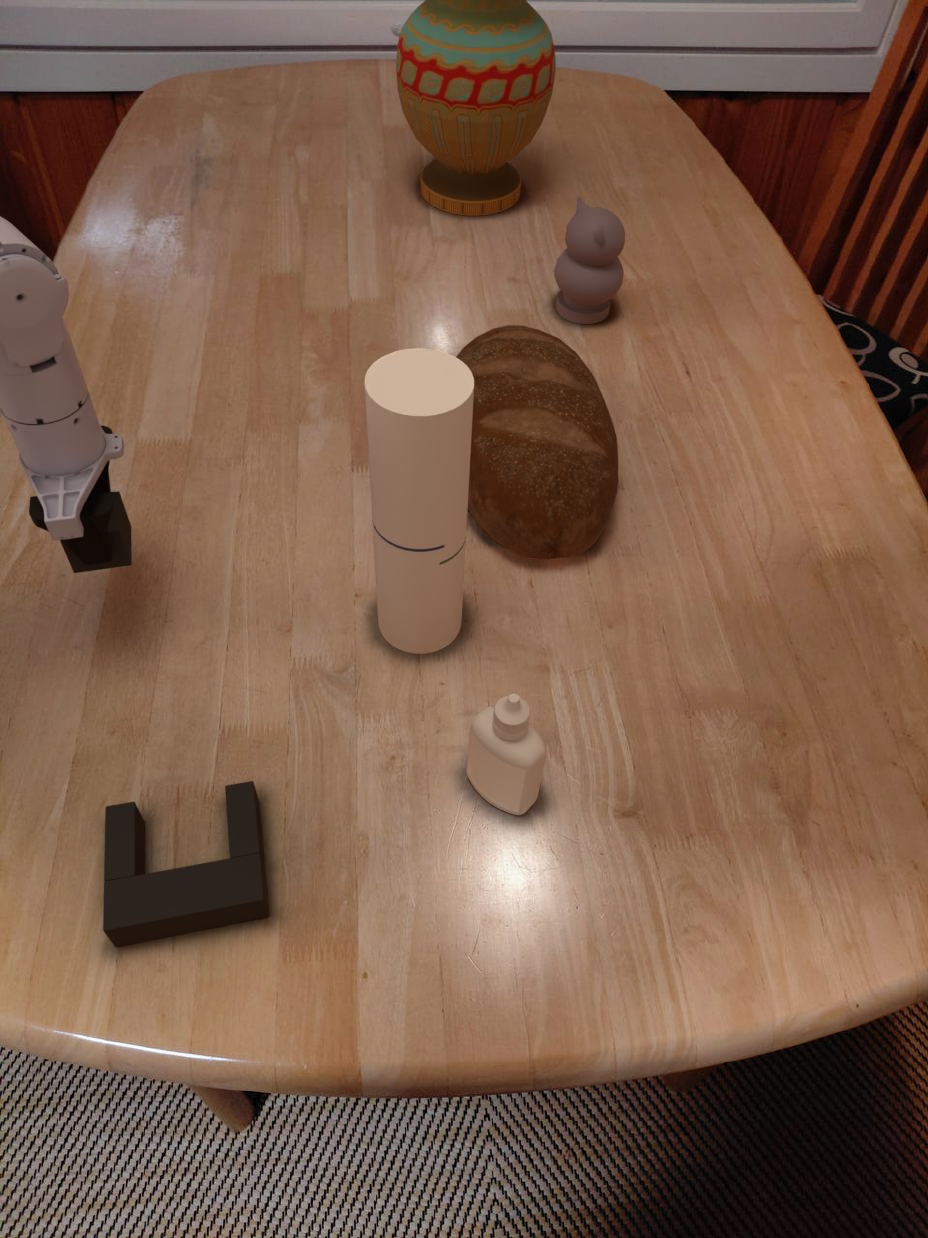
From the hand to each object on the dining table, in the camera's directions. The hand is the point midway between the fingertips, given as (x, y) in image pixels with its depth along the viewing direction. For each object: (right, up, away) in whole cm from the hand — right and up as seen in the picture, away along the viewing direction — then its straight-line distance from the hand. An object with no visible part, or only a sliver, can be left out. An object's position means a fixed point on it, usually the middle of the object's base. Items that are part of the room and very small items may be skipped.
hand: (98, 538), depth 73 cm
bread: (+35, +9, +20) cm, 41 cm away
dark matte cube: (0, -1, +1) cm, 1 cm away
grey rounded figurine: (+43, +30, +37) cm, 65 cm away
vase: (+30, +52, +54) cm, 81 cm away
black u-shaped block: (+10, -24, -8) cm, 27 cm away
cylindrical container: (+25, -7, +7) cm, 27 cm away
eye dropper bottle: (+32, -19, -3) cm, 37 cm away
